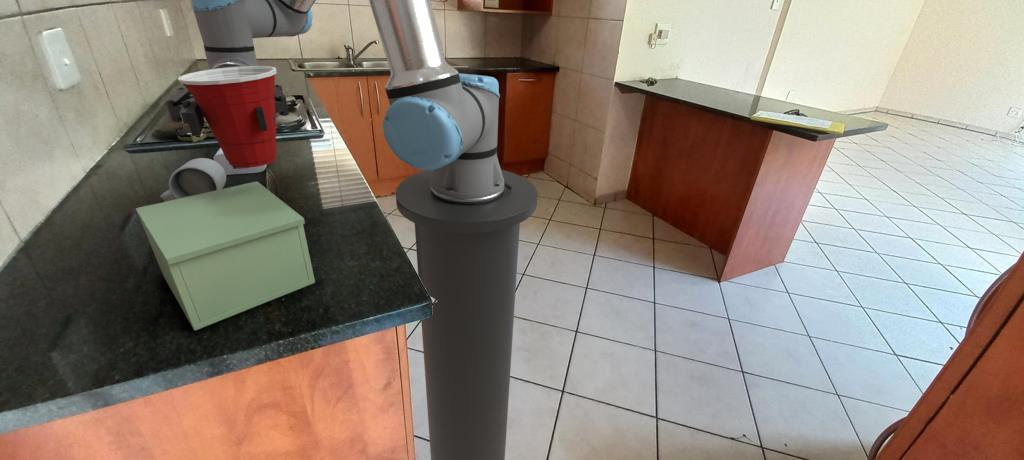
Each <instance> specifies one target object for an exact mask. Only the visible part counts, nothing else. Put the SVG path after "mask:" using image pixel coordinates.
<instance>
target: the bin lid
mask: <svg viewBox="0 0 1024 460" xmlns="http://www.w3.org/2000/svg"><path fill="white" fill-rule="evenodd" d="M135 211H136V213H137V216H138V215H139V216H138V218H139V217H140V218H141V220H142V222H143V223H144V225H145V227H146V228H147V230H148V232H149V233H150V235H151V237H152V238H153V240H154V242H155V243H156V245H157V247H158V248H159V250H160V252H161V253H162V255H163V257H164V258H165V260H166V262H167V263H168V265H170V264H173V263H177V262H180V261H183V260H187V259H190V258H193V257H197V256H200V255H203V254H206V253H210V252H213V251H216V250H220V249H223V248H226V247H230V246H233V245H236V244H239V243H243V242H246V241H249V240H253V239H256V238H259V237H263V236H266V235H269V234H272V233H276V232H279V231H282V230H286V229H289V228H292V227H296V226H299V225H302V224H303V225H305V224H306V221H305V218H304V217H303V216H302V215H300V214H299V213H298V212H297V211H295V210H294V208H292V207H290V206H289V205H288V204H287V203H285V202H284V201H283V200H281V199H280V198H279V197H278V196H277V195H275V194H274V193H273V192H272V191H270V190H269V189H268V188H266V187H265V186H264V185H263V184H261V183H260V182H259V181H252V182H248V183H244V184H239V185H234V186H229V187H224V188H222V189H220V190H216V191H211V192H207V193H202V194H198V195H193V196H189V197H184V198H180V199H175V200H171V201H166V202H164V201H162V202H158V203H153V204H148V205H144V206H140V207H136V208H135ZM140 218H139V219H140Z"/></svg>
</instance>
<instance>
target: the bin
mask: <svg viewBox="0 0 1024 460" xmlns="http://www.w3.org/2000/svg"><path fill="white" fill-rule="evenodd" d="M137 216H138V218H139V221H140V223H141V226H142V227H143V230H144V233H145V235H146V238H147V240H148V242H149V244H150V247H151V249H152V252H153V254H154V258H155V259H156V261H157V264H158V266H159V269H160V271H161V273H162V276H163V278H164V280H165V281H166V283H167V285H168V287H169V288H170V290H171V292H172V294H173V296H174V297H175V299H176V301H177V302H178V304H179V306H180V308H181V310H182V311H183V313H184V316H185V317H186V318H187V321H188V322H189V324H190V326H191V327H192V329H193V331H198V330H201V329H203V328H205V327H208V326H210V325H213V324H216V323H218V322H220V321H222V320H223V321H224V320H226V319H228V318H230V317H233V316H235V315H238V314H241V313H243V312H245V311H248V310H250V309H253V308H255V307H258V306H261V305H263V304H265V303H269V302H271V301H273V300H275V299H278V298H280V297H283V296H286V295H288V294H290V293H294V292H295V291H298V290H301V289H303V288H305V287H308V286H311V285H313V284H315V283H316V280H315V275H314V270H313V265H312V262H311V256H310V252H309V247H308V242H307V238H306V232H305V227H304V224H302V225H299V226H296V227H292V228H289V229H286V230H282V231H279V232H276V233H272V234H269V235H266V236H263V237H259V238H256V239H253V240H249V241H246V242H243V243H239V244H236V245H233V246H230V247H226V248H223V249H220V250H216V251H213V252H210V253H206V254H203V255H200V256H197V257H193V258H190V259H187V260H183V261H180V262H177V263H173V264H170V265H168V263H167V262H166V260H165V258H164V257H163V255H162V253H161V252H160V250H159V248H158V247H157V245H156V243H155V242H154V240H153V238H152V237H151V235H150V233H149V232H148V230H147V228H146V227H145V225H144V223H143V222H142V220H141V218H140V217H139V215H138V214H137Z"/></svg>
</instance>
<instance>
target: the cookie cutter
mask: <svg viewBox="0 0 1024 460" xmlns="http://www.w3.org/2000/svg"><path fill="white" fill-rule="evenodd" d="M204 121H205V122H207V121H206V119H205V117H204ZM182 124H183V121H181V125H182ZM183 125H187V124H183ZM183 125H182V126H183ZM205 126H206V127H207V126H208V127H209V125H208V123H207V124H205ZM204 130H209V131H211V129H208V128H203V129H202V131H204ZM201 134H202V132H201ZM176 136H177V138H178V140H179V141H184V142H192V143H195V142H196V143H197V142H199V141H203V140H205V138H207V137H208V138H209V137H210V138H215V137H214V135H213V133H205V134H203V135H202V136H200V137H196V136H192V134H191V133H190V136H191V137H180V136H178V135H177V134H176Z"/></svg>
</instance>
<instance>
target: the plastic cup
mask: <svg viewBox="0 0 1024 460" xmlns="http://www.w3.org/2000/svg"><path fill="white" fill-rule="evenodd" d="M277 73H278V72H277V68H276V67H275V66H269V65H258V66H241V67H229V68H219V69H211V70H210V69H205V70H199V71H195V72H190V73H185V74H183V75H179V76H178V78H177V81H178V82H179V83H180V84H183V86H184V88H186V89H188V91H189V92H190V94H192V96H193V98H194V100H195V101H196V102H197V103H198V105H199V107H200V109H201V111H202V113H203V115H204V118H205V119H206V121H207V123H208V125H209V127H210V129H211V131H212V133H213V135H214V137H213V138H215V141H216V142H217V143H218V146H219V147H220V148H221V149H222V151H223V153H224V155H225V158H226V160H228V162H229V164H230V165H232V166H234V167H240V168H250V167H258V166H263V165H266V166H268V165H269V164H272V163H274V162H275V161H276V160H277V155H278V154H277V135H278V133H277V118H276V113H275V96H274V95H275V88H274V86H275V85H276V82H275V80H276V75H277ZM257 107H263V111H264V116H265V120H266V124H267V131H261V130H260V126H259V122H258V118H257V113H256V108H257ZM274 115H275V119H273V116H274Z"/></svg>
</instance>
